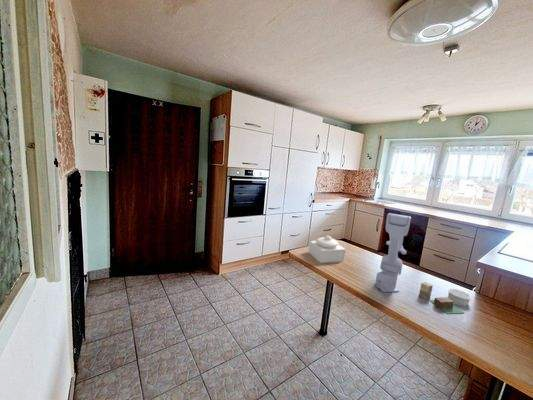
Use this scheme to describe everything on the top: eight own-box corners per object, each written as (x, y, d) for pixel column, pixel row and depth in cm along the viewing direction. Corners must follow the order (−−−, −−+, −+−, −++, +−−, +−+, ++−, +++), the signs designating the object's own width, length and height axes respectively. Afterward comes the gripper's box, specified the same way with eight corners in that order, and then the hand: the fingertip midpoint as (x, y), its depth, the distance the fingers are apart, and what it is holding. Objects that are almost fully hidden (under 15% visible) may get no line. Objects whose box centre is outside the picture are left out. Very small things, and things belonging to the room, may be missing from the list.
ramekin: (456, 295, 122) (458, 288, 121) (474, 306, 113) (476, 298, 113) (442, 296, 120) (444, 288, 120) (458, 307, 112) (460, 299, 111)
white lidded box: (308, 252, 166) (310, 231, 163) (330, 251, 171) (332, 230, 168) (320, 263, 150) (323, 240, 147) (344, 261, 155) (347, 239, 152)
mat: (447, 313, 106) (447, 313, 106) (429, 300, 116) (429, 300, 115) (464, 313, 107) (464, 312, 107) (444, 300, 117) (445, 299, 117)
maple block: (425, 299, 117) (428, 286, 115) (418, 295, 120) (421, 282, 119) (430, 297, 118) (432, 285, 117) (423, 294, 121) (425, 281, 120)
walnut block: (441, 302, 108) (454, 301, 109) (434, 297, 112) (447, 297, 113) (439, 308, 109) (452, 308, 110) (433, 304, 112) (445, 303, 113)
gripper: (413, 243, 126) (408, 266, 129) (395, 234, 141) (391, 255, 143) (401, 243, 125) (397, 266, 128) (384, 234, 140) (381, 255, 142)
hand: (393, 260), depth 136 cm, fingers closed
